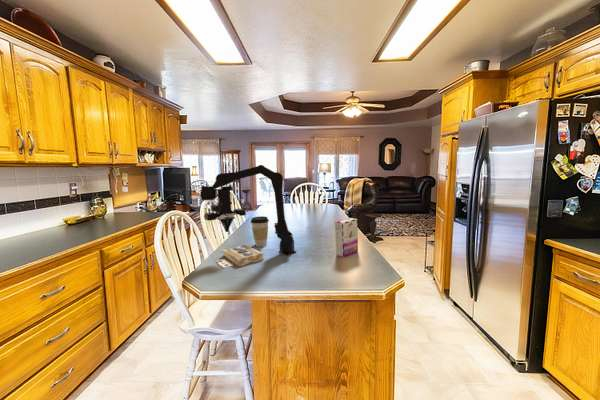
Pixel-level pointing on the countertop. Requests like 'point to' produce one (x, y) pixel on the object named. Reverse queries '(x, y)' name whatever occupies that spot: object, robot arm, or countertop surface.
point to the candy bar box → (346, 237)
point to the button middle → (242, 250)
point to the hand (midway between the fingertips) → (226, 231)
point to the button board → (241, 258)
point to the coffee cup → (260, 230)
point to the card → (224, 263)
